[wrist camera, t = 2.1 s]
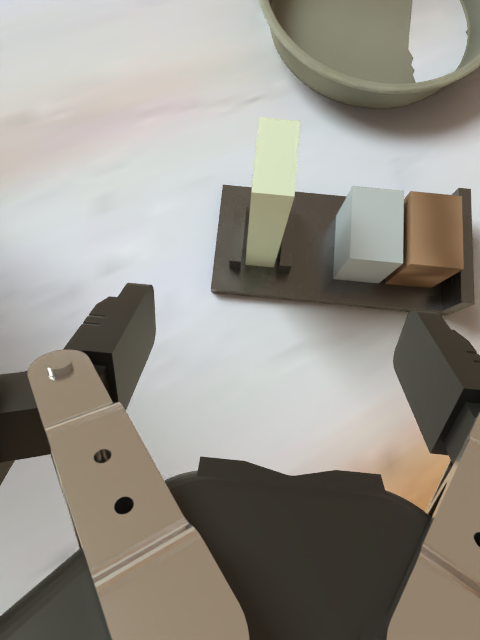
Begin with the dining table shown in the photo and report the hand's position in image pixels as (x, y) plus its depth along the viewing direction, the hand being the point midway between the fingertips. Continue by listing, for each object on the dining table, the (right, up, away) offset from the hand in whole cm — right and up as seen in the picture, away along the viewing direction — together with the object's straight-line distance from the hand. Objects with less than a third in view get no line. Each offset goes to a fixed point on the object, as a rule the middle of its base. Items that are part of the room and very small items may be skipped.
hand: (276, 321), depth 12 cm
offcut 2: (+14, +6, +22) cm, 27 cm away
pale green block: (+1, +7, +22) cm, 23 cm away
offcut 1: (+9, +6, +22) cm, 25 cm away
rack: (+7, +6, +23) cm, 25 cm away
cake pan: (+13, +31, +29) cm, 45 cm away
